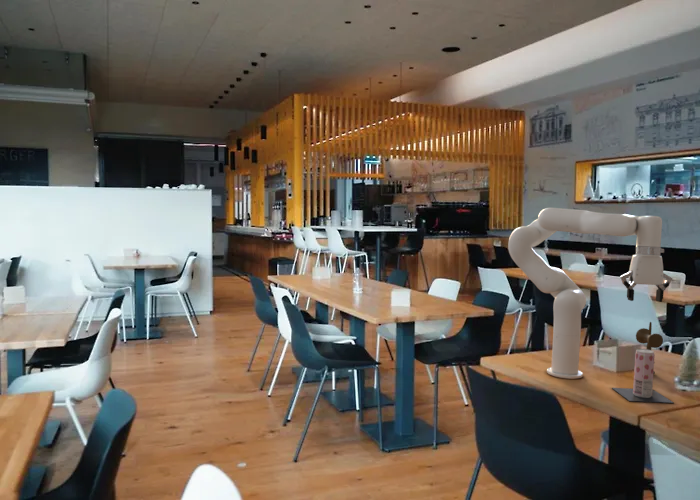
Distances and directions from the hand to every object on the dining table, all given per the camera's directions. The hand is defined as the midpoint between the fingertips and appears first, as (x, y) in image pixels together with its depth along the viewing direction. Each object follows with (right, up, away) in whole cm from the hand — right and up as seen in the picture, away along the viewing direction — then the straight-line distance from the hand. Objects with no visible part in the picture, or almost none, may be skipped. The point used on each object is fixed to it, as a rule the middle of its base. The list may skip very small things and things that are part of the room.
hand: (644, 300), depth 206 cm
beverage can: (-5, -31, -9) cm, 33 cm away
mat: (-5, -31, -9) cm, 32 cm away
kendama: (+11, -30, +20) cm, 37 cm away
